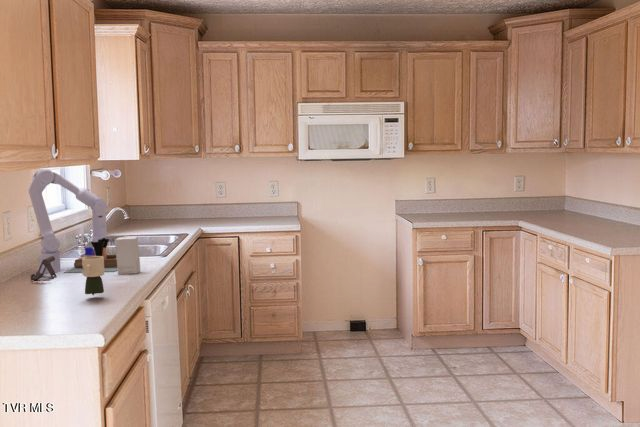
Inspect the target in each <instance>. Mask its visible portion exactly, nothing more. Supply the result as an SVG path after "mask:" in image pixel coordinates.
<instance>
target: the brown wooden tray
mask: <svg viewBox="0 0 640 427" xmlns="http://www.w3.org/2000/svg"><path fill="white" fill-rule="evenodd" d="M90 256H95V255H85V254H84V255H83V256H80V257H79V258H76V259H75V260H74V263H73V268H74V267H75V268H83V266H82V258H84V257H90ZM104 267H117V257H116V254H107V259H104Z"/></svg>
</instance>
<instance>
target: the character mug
mask: <svg viewBox="0 0 640 427" xmlns="http://www.w3.org/2000/svg"><path fill="white" fill-rule="evenodd" d="M82 266H83V273H82V276H84V277H86V280H85V284H84V285H85V286H84V287H85V288H84V294H85V295H92V296H94V295H96V294H103V293H104V292H105V289H104V283H103V278H102V276H103V275H105V272H104V257H103V256H90V257H84V258H82Z"/></svg>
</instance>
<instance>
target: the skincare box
mask: <svg viewBox="0 0 640 427" xmlns="http://www.w3.org/2000/svg"><path fill="white" fill-rule="evenodd" d="M114 244H115V255H116V257H117V269H118V270H117V275H126V274H129V275H131V274H133V275H134V274H138V273H140V272H141V260H140V246H139V238H138V236H130V237H129V236H126V237H117V238H116V239H114Z"/></svg>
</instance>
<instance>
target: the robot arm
mask: <svg viewBox="0 0 640 427" xmlns="http://www.w3.org/2000/svg"><path fill="white" fill-rule="evenodd" d="M29 184H30V185H29V186H28V195H29V197H30V201H31V205H32V208H33V212H34V215H35V217H36V222H37V224H38V228H39V232H40V234H39V235H40V246H41V247H42V249H41V250H40V252H41V254H40V255H39V258H38V268H39V267H40V265H41V263H42V260H44V259H46V258H48V257H51V256H54V257H55V260H54V261H52V262H51V266H52V268H53V270H54V272H55V274H57V273H59V272H61V271H63V270H64V268H61V254H60V253H61V252H60V250H61V249H59V247H60V246H61V245H60V240H59V239H58V238H57V237H56V235H55V232H54V229H53V227H52V224H51V220H50V217H49V213H48V210H47V207H46V203H45V200H44V196H43V191H44V190H45V189H46V188H47V187H48V186H49V185H50V184H53V185H59V186H61V187H63V188H64V189H66V190H67V191H69V192H71V193H72V194H74V195H75V199H76V200H78V201H79V202H81V203H82V204H84V205H85V206H86V207H87V208H89V207H90V209H91V211H92V212H91V213H92V216H91V217H92V240H91V241H90V243H91V245H92V248H93V251H94V250H95V253H96V256H102V253H103V248H106V249H107V247H108V244H109V242H110V236H111V235H109V234H108V233H107V215H106V210H107V208H108V205H107V202H106V201H105V200H104V199H101V198H100V196H99V195H95V193H93V192H91V191H90V189H89V188H85V187H82V188H79V187H78V186H77V185H75V184H74V183H73V182H71V181H70V180H68V179H66V178H65V177H64V176H62V175H61V174H58V173H57V172H55V171H52V170H50V168H49V169H48V168H40V169H38V170H37V171H36V172H35V173H34V174H33V175H32V179H31V182H30V183H29ZM44 267H45V265H44V264H43V265H42V268H41V270H40V273H41V274H42V272H43V270H44ZM44 274H50V273H49V271H48V269H47V267H46V270H45V272H44Z"/></svg>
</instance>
